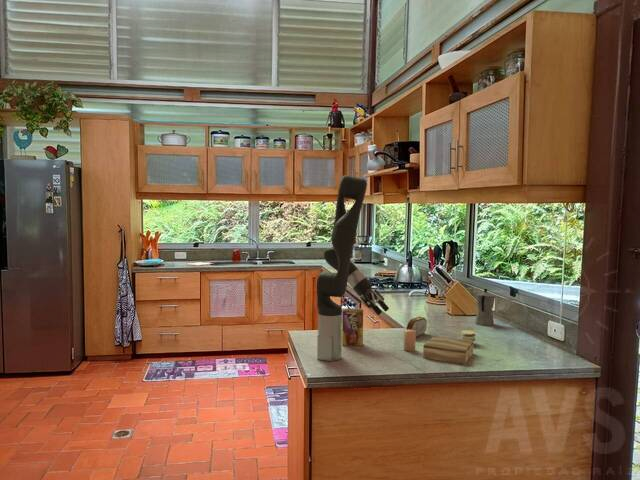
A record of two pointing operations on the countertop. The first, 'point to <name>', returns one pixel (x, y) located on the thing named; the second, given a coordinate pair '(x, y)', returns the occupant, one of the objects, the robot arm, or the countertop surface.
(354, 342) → the candy box
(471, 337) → the stacked layers on plate
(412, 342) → the peach domed capsule
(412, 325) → the tin
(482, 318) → the coffeepot
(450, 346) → the plinth
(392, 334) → the countertop surface
